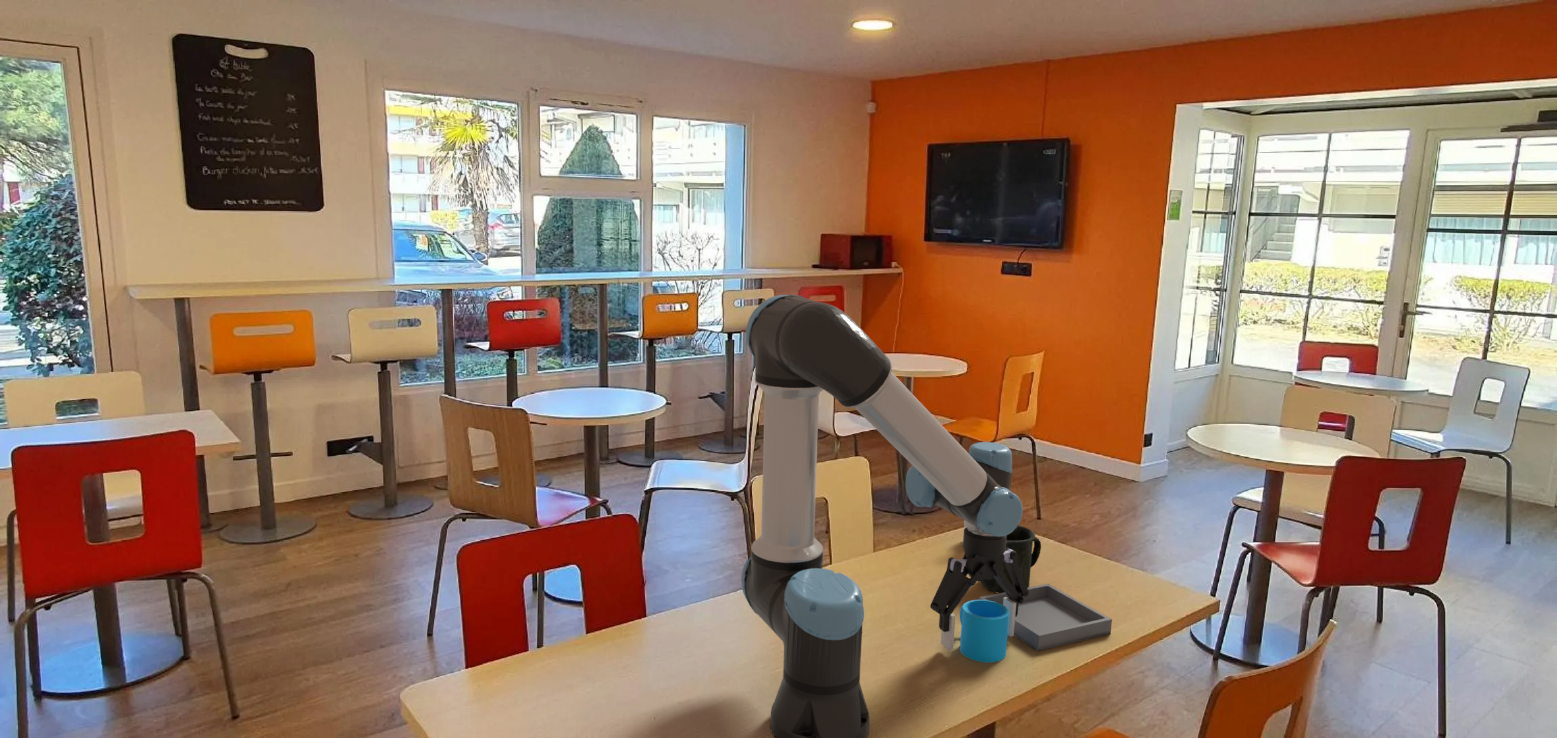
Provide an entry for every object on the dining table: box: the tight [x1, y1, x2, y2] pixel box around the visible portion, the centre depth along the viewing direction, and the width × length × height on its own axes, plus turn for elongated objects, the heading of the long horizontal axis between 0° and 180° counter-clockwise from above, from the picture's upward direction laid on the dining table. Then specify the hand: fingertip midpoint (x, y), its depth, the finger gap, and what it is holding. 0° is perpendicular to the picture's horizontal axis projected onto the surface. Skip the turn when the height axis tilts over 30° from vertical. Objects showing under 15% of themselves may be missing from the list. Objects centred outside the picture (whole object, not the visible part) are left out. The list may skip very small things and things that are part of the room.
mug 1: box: [959, 599, 1009, 663], centre depth 167 cm, size 12×8×8 cm
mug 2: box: [979, 525, 1042, 594], centre depth 195 cm, size 11×15×12 cm
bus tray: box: [978, 583, 1113, 652], centre depth 178 cm, size 18×18×3 cm
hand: (977, 639), depth 168 cm, fingers open, 13 cm apart
